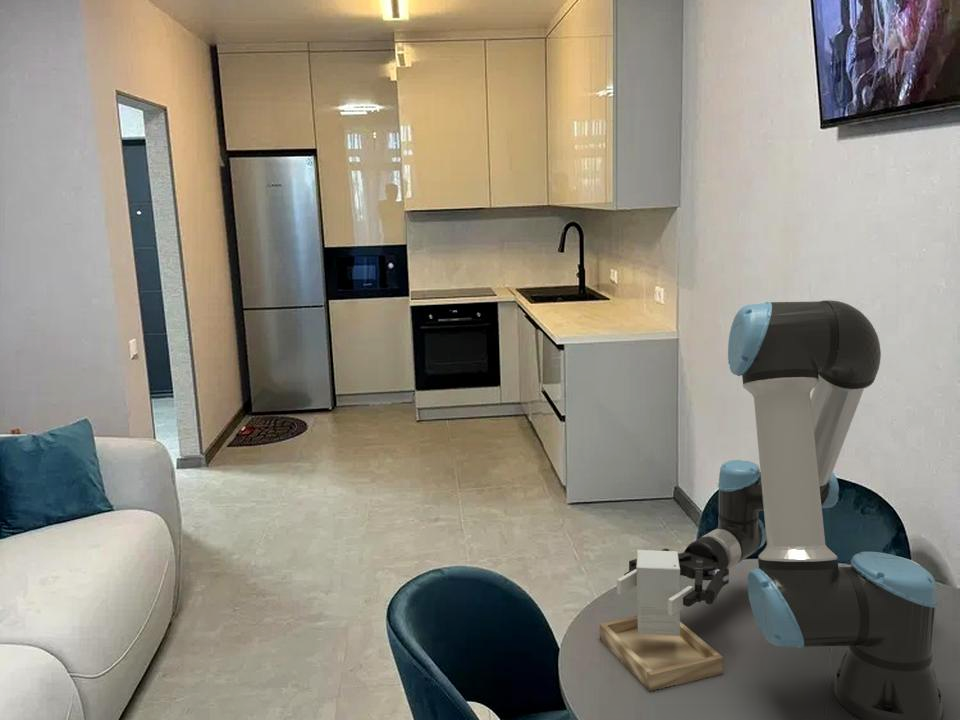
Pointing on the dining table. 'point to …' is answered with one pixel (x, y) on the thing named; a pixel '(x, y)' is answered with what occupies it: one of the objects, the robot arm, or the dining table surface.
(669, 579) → the supplement box
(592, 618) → the dining table surface
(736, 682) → the dining table surface
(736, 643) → the dining table surface
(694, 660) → the tray
